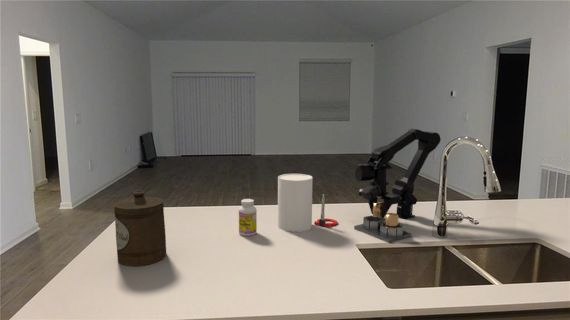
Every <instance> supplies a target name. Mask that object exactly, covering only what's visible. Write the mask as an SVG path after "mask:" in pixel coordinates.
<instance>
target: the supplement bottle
mask: <svg viewBox="0 0 570 320" xmlns="http://www.w3.org/2000/svg"><path fill="white" fill-rule="evenodd" d="M254 201H255V200H254V199H251V198H243V199H242V200H241V201H240V203H241V206H240V207H239V208H238V234H239V235H240V236H244V237H249V236H250V237H251V236H254V235H256V234H257V227H258V226H257V217H258V216H257V211H258V210H257V207H256V206H254V204H255V202H254Z"/></svg>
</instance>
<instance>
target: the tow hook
mask: <svg viewBox="0 0 570 320" xmlns="http://www.w3.org/2000/svg"><path fill="white" fill-rule="evenodd" d="M325 201H326V200H325V194H324V193H323V194H322V199H321V211H320V218H319V219H317V220H314V222H313V224H314V226H315V225H316V226H320V227H326V228H330V227H331V226H334V227H335V226H337V225H338V221H337V220H335V219H333V218H325V204H326V202H325Z"/></svg>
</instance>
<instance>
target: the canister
mask: <svg viewBox="0 0 570 320" xmlns="http://www.w3.org/2000/svg"><path fill="white" fill-rule="evenodd" d="M313 180H314V179H313V176H312V175H311V174H304V173H283V174H281V175H278V176H277V228H278V229H279V230H281V229H282V230H281V231H286V232H290V231H291V232H293V233H295V232H296V233H297V232H306V231H309V230H310V229H312V228H313V227H312V226H313V223H312V222H313V221H312V220H313Z"/></svg>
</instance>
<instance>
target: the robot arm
mask: <svg viewBox="0 0 570 320" xmlns="http://www.w3.org/2000/svg"><path fill="white" fill-rule="evenodd" d="M441 140H442V139H441V135H440V134H439V133H438V132H433V131H427V130H426V131H423V130H420V129H418V128H410V129H408V131H407V132H405V133H403V134H402V135H400V136H399V137H398V138H396V139H395V140H393V141H392V142H390V143H388V144H387V145H384V146H380V147H378V148H377V147H376V148H374V149H373V151H371V155H370V157H369V158H368V160H367V161H366V163H365V164H362V163H361V164H360V163H359V164H357V167H356V168H355V171H354V177H355V180H357V182H367V181H370V183H369V185H368V186H366V187H364V188H360V189H359V191H358V196H360V197H362V198H363V199H364V200H366V201H367V204H368V206H369V210H370V213H371V215H373V202H378V199H380V200H383V201H382V202H381V201H380V202H381V203H380V204H381V205H382V218H384V219H385V218H386V214H387V213H389V211H390V209H391V207H392V206H393V205H397V206H396V214H398V218H401V219H404V220H407V219H411V218H416V215H414V214H413V208H414V207H413V206H414V205H416V204H417V202H418V198H416V197H415V195H414V191H415V188H414V187H415V182H416V179H417V177H418V176H419V174H420V172H421V171H422V168H423V166H424V164H425V162H426V160H427V158H428V156H429V155H430V154H431V153H432V152H433V151H434V150H435V149H437V147H438V146H439V145H440V142H441ZM415 141H418V142H417V150H416V152H415V154H414V156H413V158H412V160H411V161H410V164H409V165H408V168H407V169H406V172H405V173H404V175H403V177H402V178H401V179H396V180H395V182H394V184H393V185H392V186H391V188H392V189H391V194H389V191H387V185H389V181H387V179H388V170H391V169H393V167H392V166H391V165H390V164H389V163H390V161H392V160H393V158H394V157H395V155H396V154H397V153H398V152H399V151H401V150H402V149H404V148H405V147H407V146H409V145H410V144H412V143H413V142H415Z"/></svg>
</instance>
